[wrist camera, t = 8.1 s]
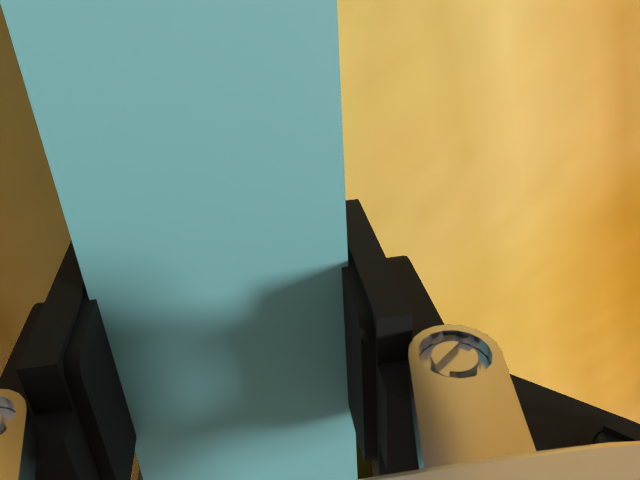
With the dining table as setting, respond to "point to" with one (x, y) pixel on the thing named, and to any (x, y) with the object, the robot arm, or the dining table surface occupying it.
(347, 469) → the slat
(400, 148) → the dining table surface
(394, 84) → the dining table surface
